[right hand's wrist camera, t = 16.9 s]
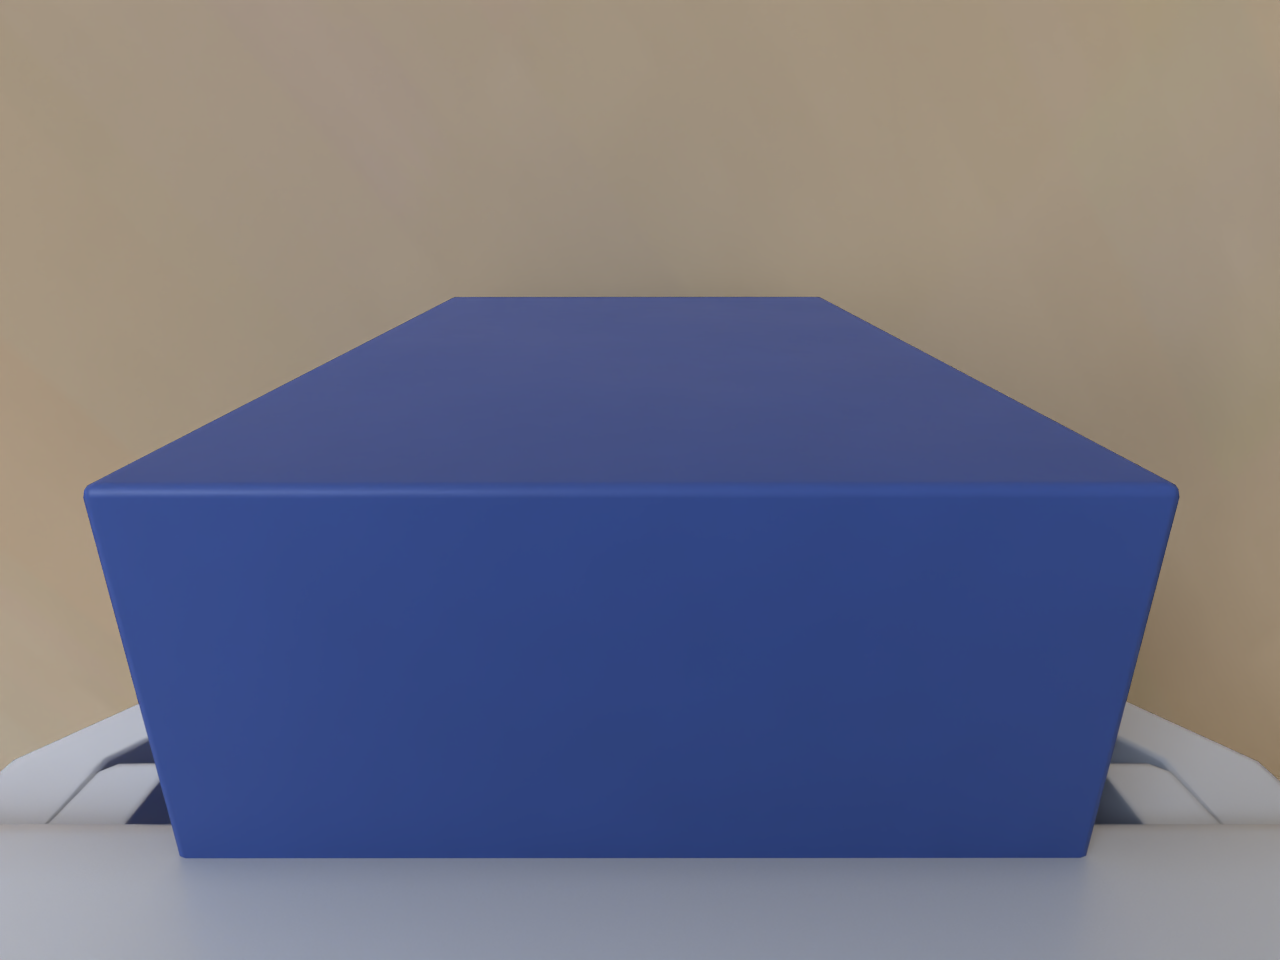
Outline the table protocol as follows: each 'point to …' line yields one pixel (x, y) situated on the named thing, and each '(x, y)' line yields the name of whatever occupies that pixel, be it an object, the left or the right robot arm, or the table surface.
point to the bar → (632, 596)
